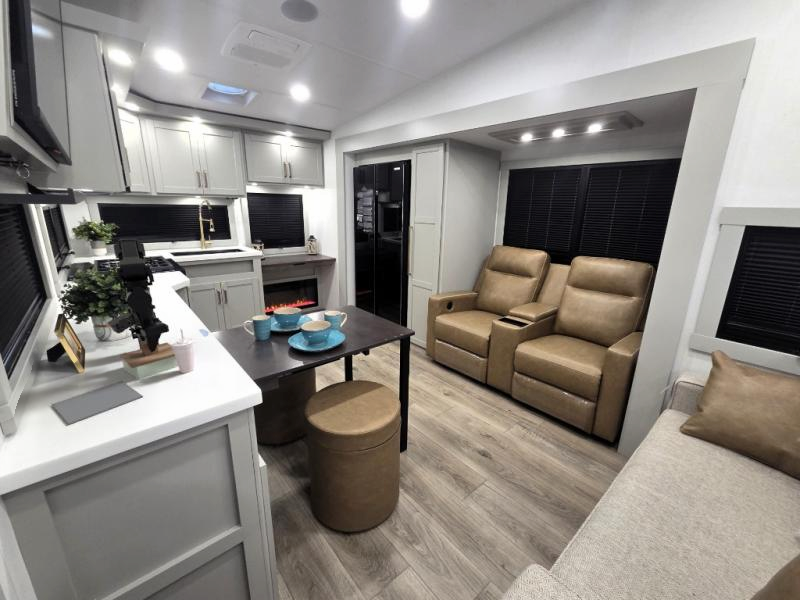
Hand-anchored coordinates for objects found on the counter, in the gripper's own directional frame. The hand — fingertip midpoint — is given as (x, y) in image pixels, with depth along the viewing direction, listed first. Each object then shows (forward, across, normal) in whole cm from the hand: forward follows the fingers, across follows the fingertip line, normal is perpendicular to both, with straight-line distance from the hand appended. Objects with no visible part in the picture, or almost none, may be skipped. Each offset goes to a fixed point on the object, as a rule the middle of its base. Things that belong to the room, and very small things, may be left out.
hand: (150, 350), depth 108 cm
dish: (+6, 0, 0) cm, 6 cm away
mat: (+6, +11, -17) cm, 21 cm away
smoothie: (+6, +12, +5) cm, 14 cm away
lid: (+2, 0, 0) cm, 2 cm away
